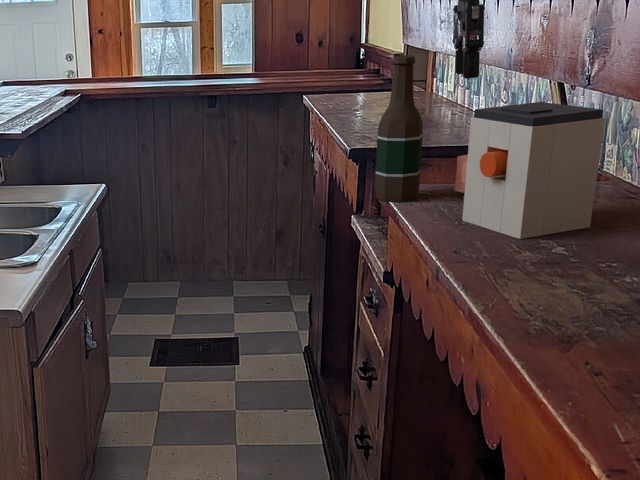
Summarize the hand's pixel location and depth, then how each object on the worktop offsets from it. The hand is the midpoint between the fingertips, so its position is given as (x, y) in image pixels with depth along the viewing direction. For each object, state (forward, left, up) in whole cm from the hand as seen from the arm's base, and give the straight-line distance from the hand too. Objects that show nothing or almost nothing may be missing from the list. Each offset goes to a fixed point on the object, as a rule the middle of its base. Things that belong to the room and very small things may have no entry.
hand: (466, 75), depth 135 cm
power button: (-9, +9, -13) cm, 19 cm away
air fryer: (-12, +4, -21) cm, 25 cm away
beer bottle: (+13, -4, -22) cm, 25 cm away
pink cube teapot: (-1, -11, -22) cm, 24 cm away
